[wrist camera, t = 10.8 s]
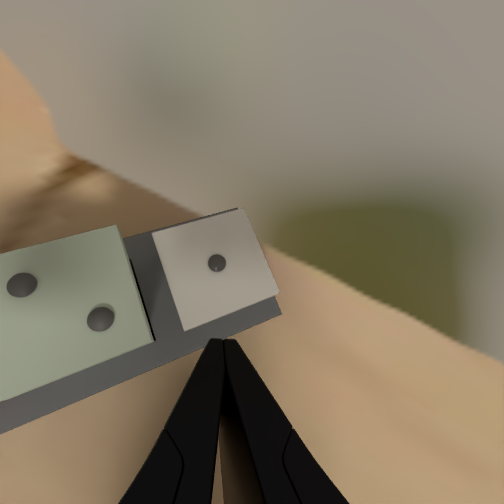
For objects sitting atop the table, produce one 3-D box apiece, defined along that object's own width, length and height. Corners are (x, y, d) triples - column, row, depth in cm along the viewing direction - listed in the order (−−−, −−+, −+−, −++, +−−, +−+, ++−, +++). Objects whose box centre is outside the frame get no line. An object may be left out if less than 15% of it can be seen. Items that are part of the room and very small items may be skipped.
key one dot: (252, 308, 22) (280, 292, 16) (184, 335, 20) (184, 330, 14) (227, 245, 23) (244, 206, 17) (161, 266, 22) (151, 232, 15)
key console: (262, 320, 23) (282, 314, 18) (-52, 453, 16) (-148, 497, 11) (227, 233, 24) (237, 207, 20) (-69, 322, 18) (-158, 314, 13)
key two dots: (163, 342, 18) (151, 341, 12) (69, 380, 16) (-10, 404, 10) (139, 265, 19) (115, 223, 13) (48, 292, 18) (-34, 261, 11)
